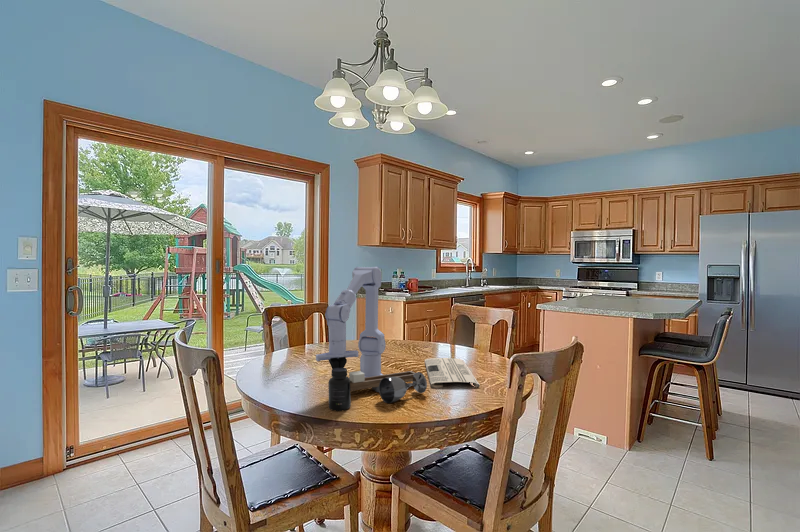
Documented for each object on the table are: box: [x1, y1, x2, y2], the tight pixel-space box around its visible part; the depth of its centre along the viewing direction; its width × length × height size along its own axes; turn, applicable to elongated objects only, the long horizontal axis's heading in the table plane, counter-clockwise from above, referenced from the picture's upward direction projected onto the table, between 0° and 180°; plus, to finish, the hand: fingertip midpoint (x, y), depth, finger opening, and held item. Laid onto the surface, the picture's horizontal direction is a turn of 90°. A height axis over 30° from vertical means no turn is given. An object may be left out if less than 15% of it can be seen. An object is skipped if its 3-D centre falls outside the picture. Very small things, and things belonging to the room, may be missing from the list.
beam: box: [350, 370, 416, 393], centre depth 144 cm, size 6×28×4 cm, turn 117°
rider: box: [348, 370, 365, 383], centre depth 140 cm, size 4×4×4 cm
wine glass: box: [378, 371, 428, 404], centre depth 135 cm, size 8×8×15 cm
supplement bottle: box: [327, 367, 352, 412], centre depth 126 cm, size 7×7×12 cm
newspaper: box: [424, 357, 481, 389], centre depth 164 cm, size 37×19×3 cm, turn 0°
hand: (337, 379), depth 137 cm, fingers closed
